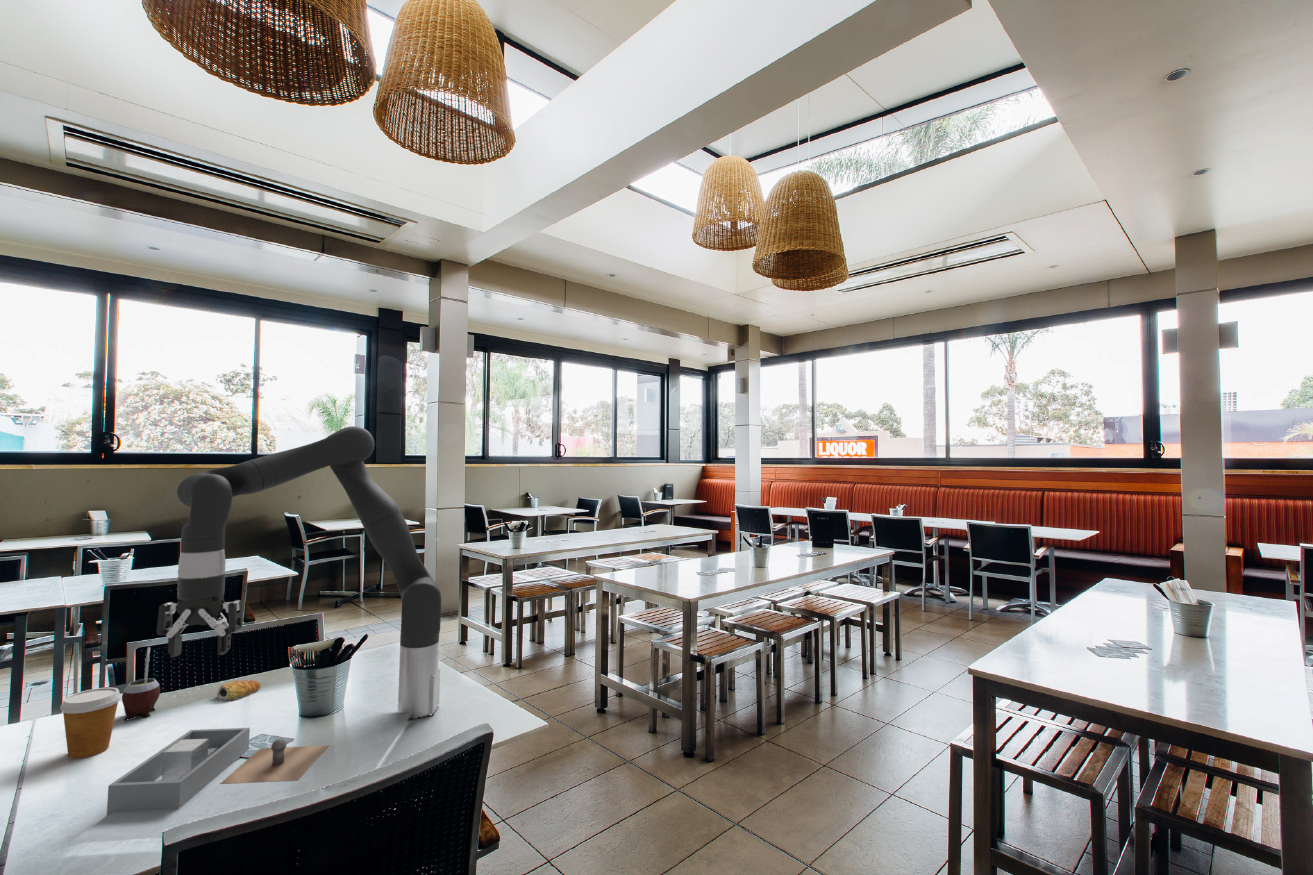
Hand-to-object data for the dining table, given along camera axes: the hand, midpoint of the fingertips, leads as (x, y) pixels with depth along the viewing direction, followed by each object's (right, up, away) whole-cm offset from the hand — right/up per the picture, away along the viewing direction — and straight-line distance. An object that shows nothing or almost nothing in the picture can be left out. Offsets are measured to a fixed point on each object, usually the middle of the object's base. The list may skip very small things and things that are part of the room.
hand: (199, 654), depth 117 cm
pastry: (-21, -26, +41) cm, 53 cm away
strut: (0, -23, -3) cm, 24 cm away
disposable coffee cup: (-31, -24, +9) cm, 40 cm away
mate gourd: (-36, -25, +27) cm, 52 cm away
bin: (0, -24, -3) cm, 24 cm away
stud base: (+14, -25, +2) cm, 29 cm away
